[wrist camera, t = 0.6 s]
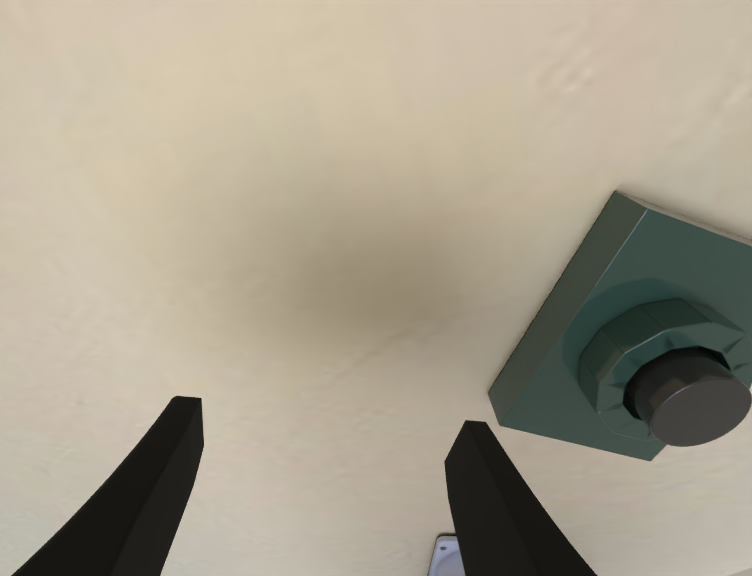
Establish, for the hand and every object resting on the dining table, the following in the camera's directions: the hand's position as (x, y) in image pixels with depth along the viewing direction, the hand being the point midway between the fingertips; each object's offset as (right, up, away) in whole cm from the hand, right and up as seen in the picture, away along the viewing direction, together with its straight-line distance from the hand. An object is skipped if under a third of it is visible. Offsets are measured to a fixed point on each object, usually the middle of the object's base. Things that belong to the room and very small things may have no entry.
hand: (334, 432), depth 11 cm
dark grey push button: (+15, 0, +8) cm, 17 cm away
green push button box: (+15, +2, +11) cm, 19 cm away
